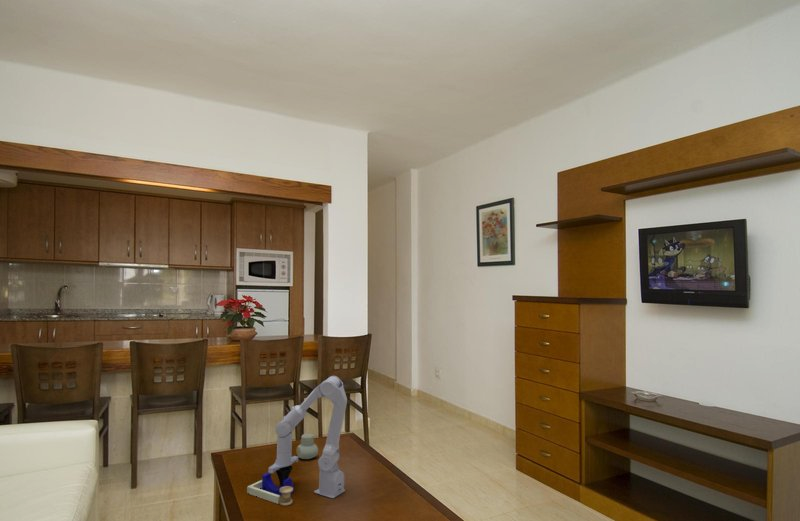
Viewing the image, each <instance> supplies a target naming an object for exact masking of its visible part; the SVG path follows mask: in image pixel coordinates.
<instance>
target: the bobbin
mask: <svg viewBox="0 0 800 521" xmlns="http://www.w3.org/2000/svg"><path fill="white" fill-rule="evenodd" d="M292 491H293V487H291V486H284V487H281V488H280V493H282V496H281V498H280V501H279V504H278V505H280V506H284V507H285V506H286V507H288V506H290V505H292V504H293V499H292V498H291V495H292V494H291V492H292Z"/></svg>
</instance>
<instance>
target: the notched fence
mask: <svg viewBox="0 0 800 521" xmlns="http://www.w3.org/2000/svg"><path fill="white" fill-rule="evenodd" d="M260 488H261V489H260ZM248 493H249V494H248ZM246 494H248V495H251V496H254V497H256V496H257V497H256V498H259V499H262V500H265V501H269V502H271V503H274V504H276V505H280V504H279V501H280V499H281V498H282V496H280V495H277V494H274V493H271V492H268V491H265V490H262V479H261V480H258V481H257V482H254V483H252V484H249V485H248V486H247V487H246Z"/></svg>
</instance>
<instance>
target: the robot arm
mask: <svg viewBox="0 0 800 521" xmlns="http://www.w3.org/2000/svg"><path fill="white" fill-rule="evenodd" d="M344 387H345V386H344V382H343V381H342V380H341V379H340V378H339V377H338V376H336V375H330V376H329V377H328V378H327V379H325V380H323V381H322V382H321V383H320V384H319V385H317V386H316V387H315V388H314V389H313V390H312V391H311V392H310V394H308V396H307V397H305V399H304V400H303V402H301V404H299V405H294V406H291V408H289V410H290V411H289V412H288V413H287V414H286V415H284V416H283V417H282V420H281V421H279V422H277V424H276V426H275V434H276V435H277V437H276V438H277V440H276V441H277V442H276V443H277V444H276V459H275V461H274V463H273V464H271V465H270V466H269V467H268V471H267V473H271V474H274V473H276V475H277V477H278V481H279V487H280V486H283V481H284V480H286V479H287V478H290V474H291V472H292V470H293V465H292V464H294V463H298V462H299V457H298V455H297V456H296V455H292V454H293V453H292V452H293V451H292V447H293V431H294V430H295V427H297V426H298V425H299V423H300V422H301V421H302V420H304V419H305V417H306V415H307V410H308V409H309V408H310V407H311V406H312V405H313V404H314V403H315V402H316V401H317V400H318V399H320V398H323V397H325V398H326V399H328V400H329V401H330V402H331V403H332V404H333V406H332V411H331V412H332V413H331V416H330V420H329V426H328V432H327V435H326V441H325V445H324V447H323V450H322V454H321V456H320V457H319V458H318V461H317V465H318V468H319V475H318V476H319V477H318V489H315V490H314V491H313V493H315V494H317V495H321V496H322V497H327V498H330V499H334V498H336V497H338V496H340V495H341V494H342V493H344V492H346V489H345V472H344V471H341V470H340V468H339V465H338V461H339V460H340V455H341V454H340V451H339V449H340V437H341V434H342V428H343V422H344V419H345V414H346V409H347V405H348V404H347V403H348V398H347V395H346V391H345V388H344Z"/></svg>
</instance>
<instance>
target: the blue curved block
mask: <svg viewBox="0 0 800 521" xmlns="http://www.w3.org/2000/svg"><path fill="white" fill-rule="evenodd" d="M271 474H272V473H269V472H266V473H264V474H262V475H261V476H262V478H261V480H262V488H261V489H262V490H265V491H268V492H271V493H274V494H277V495H280V496H281V497H282V493H280V488H281V487H284V486H291V487H293V491H292V492H291V494H290V495H292V494H293V493H295V492H294V491H295V488H294V487H295V484H293V481H292V480H293V478H291V477H288V478H287V479H286V480H284V481H283V486H280V485H279V486H277V485H276V484H275V483H274V482H273V479H272V475H271Z"/></svg>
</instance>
